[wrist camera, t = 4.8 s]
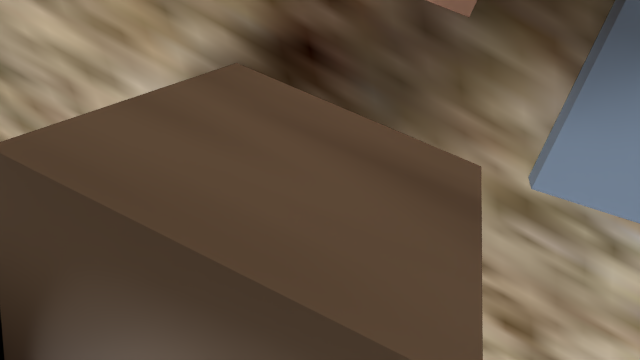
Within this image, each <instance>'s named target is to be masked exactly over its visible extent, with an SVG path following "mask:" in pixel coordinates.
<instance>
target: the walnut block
mask: <svg viewBox="0 0 640 360" xmlns="http://www.w3.org/2000/svg"><path fill="white" fill-rule="evenodd" d="M0 311H1V323H2V335H3V347H4V359H5V360H483V346H482V207H481V166H479V165H476V164H474V163H472V162H469V161H467V160H464V159H462V158H460V157H457V156H455V155H453V154H450V153H448V152H446V151H443V150H441V149H438V148H436V147H434V146H431V145H429V144H427V143H424V142H422V141H420V140H417V139H415V138H413V137H410V136H408V135H405V134H403V133H401V132H398V131H396V130H394V129H391V128H389V127H387V126H384V125H382V124H379V123H377V122H375V121H372V120H370V119H368V118H365V117H363V116H361V115H358V114H356V113H353V112H351V111H349V110H346V109H344V108H342V107H339V106H337V105H335V104H332V103H330V102H327V101H325V100H323V99H320V98H318V97H316V96H313V95H311V94H309V93H306V92H304V91H301V90H299V89H297V88H294V87H292V86H290V85H287V84H285V83H283V82H280V81H278V80H276V79H273V78H271V77H268V76H266V75H264V74H261V73H259V72H257V71H254V70H252V69H250V68H247V67H245V66H242V65H240V64H238V63H235V64H232V65H229V66H226V67H223V68H220V69H217V70H214V71H211V72H208V73H205V74H202V75H199V76H196V77H193V78H190V79H187V80H184V81H181V82H178V83H175V84H172V85H169V86H166V87H163V88H160V89H157V90H155V91H152V92H149V93H146V94H143V95H140V96H137V97H134V98H131V99H128V100H125V101H122V102H119V103H116V104H113V105H110V106H107V107H104V108H101V109H98V110H95V111H92V112H89V113H86V114H83V115H80V116H77V117H74V118H71V119H68V120H65V121H62V122H59V123H56V124H53V125H50V126H47V127H44V128H41V129H38V130H35V131H32V132H29V133H26V134H23V135H20V136H17V137H14V138H11V139H8V140H5V141H2V142H0Z"/></svg>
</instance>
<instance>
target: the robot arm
mask: <svg viewBox="0 0 640 360" xmlns="http://www.w3.org/2000/svg"><path fill="white" fill-rule="evenodd" d="M0 360H5V359H4V347H3V335H2V323H1V311H0Z"/></svg>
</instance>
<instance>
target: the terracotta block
mask: <svg viewBox="0 0 640 360" xmlns="http://www.w3.org/2000/svg"><path fill="white" fill-rule="evenodd" d="M426 1H429V2H431V3H434V4H436V5H439V6H441V7H444V8H446V9H449V10H452V11H454V12H457V13H459V14H462V15H464V16H467V17H470V15H471V12H472V10H473V8H474V6H475V4H476V2H477V0H426Z"/></svg>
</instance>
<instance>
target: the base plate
mask: <svg viewBox="0 0 640 360" xmlns="http://www.w3.org/2000/svg"><path fill="white" fill-rule="evenodd" d="M529 181H530V185H531V189H533V190H537V191H540V192H543V193H546V194H549V195H552V196H555V197H559V198H562V199H565V200H568V201H571V202H574V203H577V204H580V205H584V206H587V207H590V208H593V209H596V210H599V211H602V212H605V213H609V214H612V215H615V216H618V217H621V218H624V219H627V220H631V221H634V222H637V223H640V0H615V2H614V4H613V6H612V8H611V10H610V12H609V14H608V16H607V18H606V20H605V22H604V24H603V26H602V28H601V30H600V32H599V34H598V36H597V39H596V41H595V43H594V45H593V47H592V49H591V51H590V53H589V55H588V57H587V59H586V61H585V63H584V65H583V67H582V69H581V71H580V73H579V75H578V77H577V79H576V81H575V83H574V85H573V87H572V89H571V92H570V94H569V96H568V98H567V100H566V102H565V104H564V106H563V108H562V110H561V112H560V114H559V116H558V118H557V120H556V122H555V124H554V126H553V128H552V130H551V132H550V134H549V136H548V138H547V140H546V142H545V144H544V147H543V149H542V151H541V153H540V155H539V157H538V159H537V161H536V163H535V165H534V167H533V169H532V171H531V173H530V175H529Z"/></svg>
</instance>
